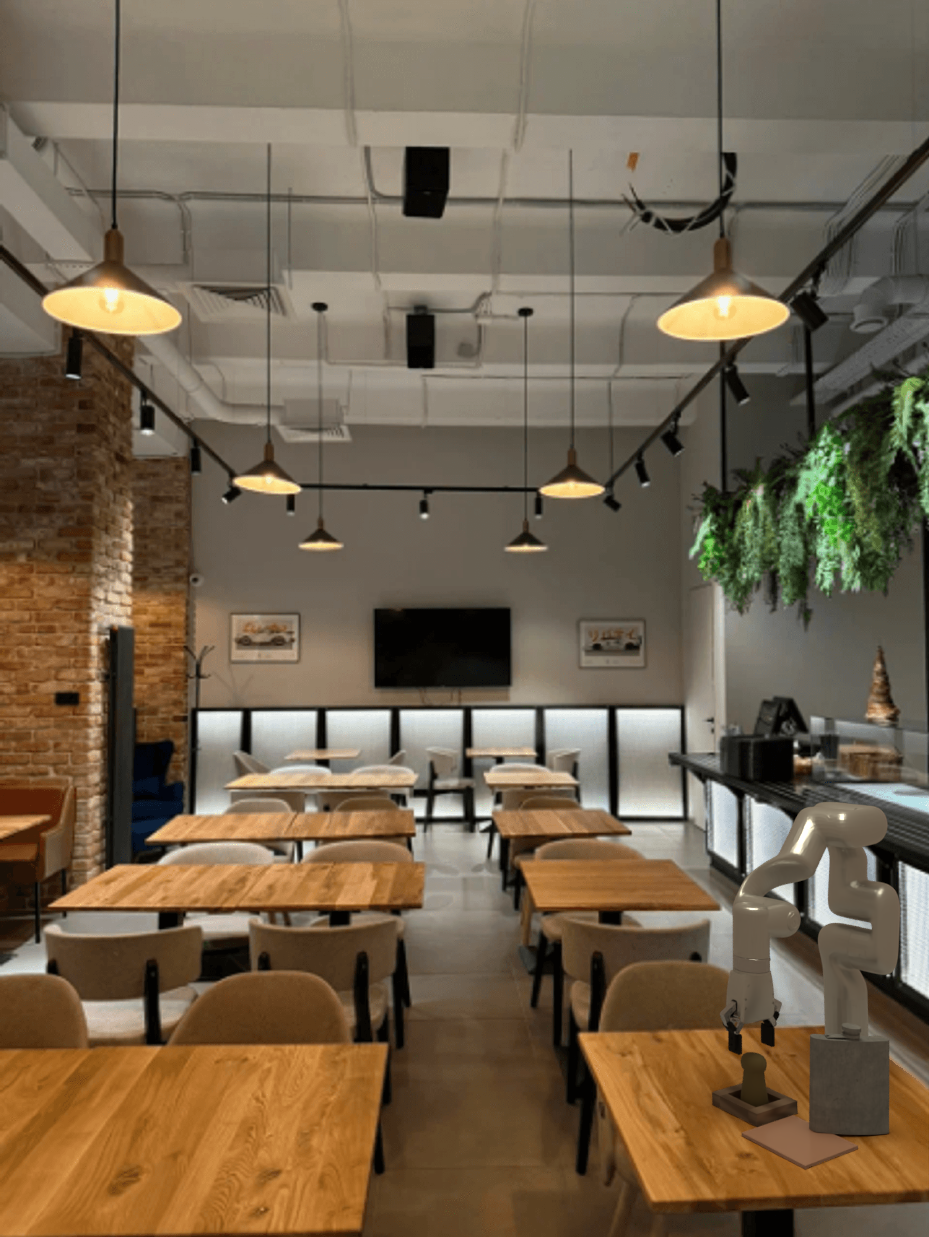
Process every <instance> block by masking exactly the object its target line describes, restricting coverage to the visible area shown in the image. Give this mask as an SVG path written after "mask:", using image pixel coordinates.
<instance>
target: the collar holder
mask: <svg viewBox="0 0 929 1237" xmlns="http://www.w3.org/2000/svg"><path fill="white" fill-rule="evenodd" d="M741 1089H742V1082H740V1083H738V1084H734V1085H732V1086H728V1087H725V1088H721V1089H718V1090H715V1091H711V1101H712V1102H711V1103H712V1104H711V1105H713V1106H714V1107H716V1108H718V1109H720V1110H722V1111H725V1112H727V1113H728V1114H730V1115H732V1116H733V1117H737V1118H738V1119H741V1120H742V1121H744V1122H746V1123H748V1124H751V1125H752V1126H754V1127H755V1128H757V1127H760V1126H763V1125H766V1124H769V1123H771V1122H774V1121H777V1120H780V1119H783V1118H786V1117H789V1116H792V1115H794V1116H796V1115H797V1114H798V1111H799V1110H798V1100H796V1099H794V1098H792V1097H791V1096H787V1095H785V1094H784V1093H781V1092H779V1091H777V1090H774V1089H772V1088H770V1087H768V1086H766V1089H767V1095H768V1102H769V1103H768V1104H765V1105H762V1106H759V1107H754V1106H752V1105H750V1104H748V1103H746V1102H744V1101H742V1100H740V1098H741Z"/></svg>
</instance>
